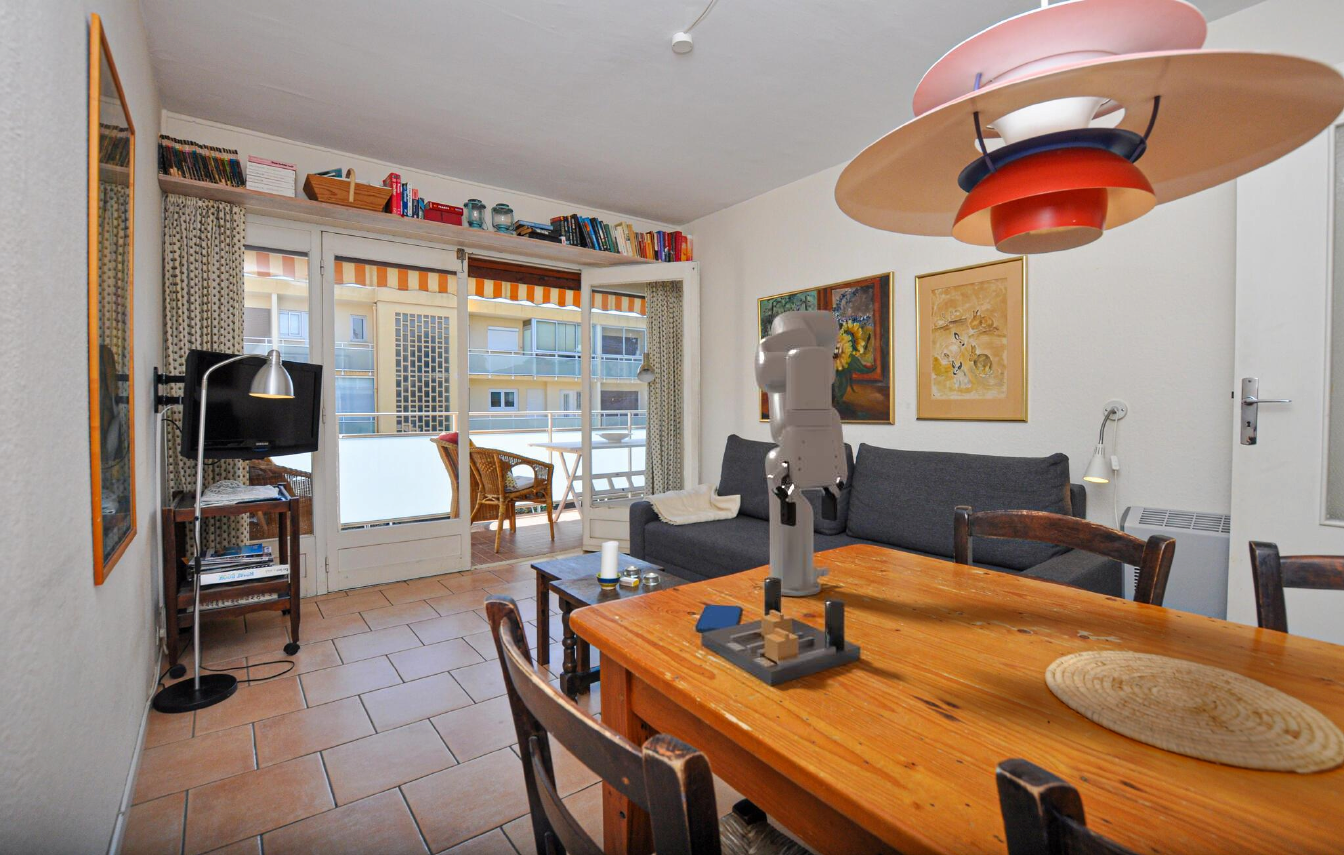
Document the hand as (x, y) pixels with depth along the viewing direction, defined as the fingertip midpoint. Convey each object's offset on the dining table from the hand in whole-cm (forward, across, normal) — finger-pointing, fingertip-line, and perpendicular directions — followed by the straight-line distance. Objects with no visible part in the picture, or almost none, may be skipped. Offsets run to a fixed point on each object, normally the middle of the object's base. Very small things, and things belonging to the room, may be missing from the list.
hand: (809, 522), depth 102 cm
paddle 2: (+18, +12, +7) cm, 23 cm away
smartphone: (+21, +7, -17) cm, 28 cm away
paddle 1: (+18, +7, 0) cm, 19 cm away
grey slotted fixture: (+20, +8, +1) cm, 22 cm away
